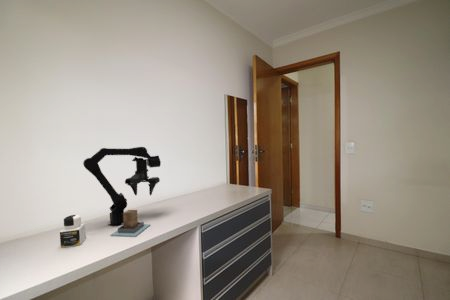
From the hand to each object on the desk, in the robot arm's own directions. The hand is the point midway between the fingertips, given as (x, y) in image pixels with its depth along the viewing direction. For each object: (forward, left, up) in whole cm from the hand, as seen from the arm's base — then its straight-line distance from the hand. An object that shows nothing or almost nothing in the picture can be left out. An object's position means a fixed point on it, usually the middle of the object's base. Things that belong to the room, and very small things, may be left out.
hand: (143, 195), depth 120 cm
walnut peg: (+4, -18, -12) cm, 22 cm away
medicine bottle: (-15, -32, -13) cm, 38 cm away
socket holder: (+4, -18, -13) cm, 22 cm away
